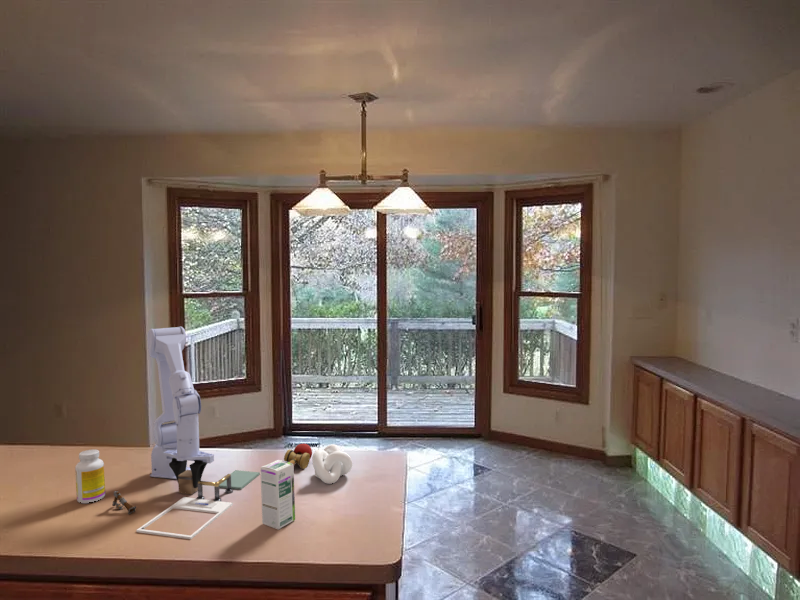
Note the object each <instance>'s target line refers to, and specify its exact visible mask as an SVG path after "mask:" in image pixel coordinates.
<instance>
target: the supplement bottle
mask: <svg viewBox="0 0 800 600" xmlns="http://www.w3.org/2000/svg"><path fill="white" fill-rule="evenodd" d="M78 459H79V462H77V464H76V465H75V467H74V468H75V484H76V485H75V489H76V501H77V502H78V503H80V502H81V503H80V504H90V503H89V502H93V503H95V502H94V501H96V502H98V500H99V501H100V499H101V500H102V499H103V498H105V496H106V483H105V482H106V480H105V463H104V461H103V459H101V458H100V450H98V449H87V450H82V451H81V452H79V454H78Z"/></svg>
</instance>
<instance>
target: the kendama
mask: <svg viewBox="0 0 800 600" xmlns="http://www.w3.org/2000/svg"><path fill="white" fill-rule="evenodd" d="M312 457H313V449H312V447H311V446H310V445H309V444H307V443H299V444H297V445H296V446H295V447H294V449H287V450H286V452H285V453H284V457H283V461H287V462H290V463H293V465H294V466H295V465H296V464H297V465H298V466H299V468H300V469H302V470H305V469H306V468H307V467H308V466H309V463H310V460H311V458H312Z"/></svg>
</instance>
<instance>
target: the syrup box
mask: <svg viewBox="0 0 800 600" xmlns="http://www.w3.org/2000/svg"><path fill="white" fill-rule="evenodd" d="M294 466H295V465H293V463H290V462H287V461H284V459H283V460H282V459H276V460H274V461H272V462H270V463H268V464H265V465H262V466H260V467H259V468H260V471H259V472H260V494H261V518H262V519H261V520H262V521H261V523H262V524H263V525H264V526H267V527H269V528H273V529H276V530H281V529H282V528H283V527H285V526H287V525H289V524H290V523H292V522H294V521H295V520H296V503H295V500H296V499H295V473H294V472H295V471H294V468H295V467H294Z"/></svg>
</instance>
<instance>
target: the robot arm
mask: <svg viewBox="0 0 800 600" xmlns="http://www.w3.org/2000/svg"><path fill="white" fill-rule="evenodd" d="M186 334H187V332H186V329H185V328H184V327H183V326H177V327H162V328H149V330H148V331H147V336H146V337H147V349H148V354H149V357H150V358H153V359H155V361H156V364H157V371H158V383H159V391H160V399H161V401H160V402H161V409H162V411H161V412H162V413H160V414H159V416H158V417H156V419H154V422H153V440H154V444H155V445H154V446H153V448H152V450H151V454H150V456H151V457H150V458H151V459H150V460H151V474H149V477H150V478H151V477H153V478H161V479H171V480H176V481H177V482H178V475H180V474H181V473H183V472H184V471H186V470H191V472H192V477H193V487H194V488H197V487H198V482H199V481H202V477H203V474H204V471H205V469H206V466H207V464H211V463H213V462H214V461H215V454H213V453H209V452H205V451H202V450H200V429H199V427H200V426H199V422H200V421H199V414H201V412H202V401H201V396H200V394H199V393H198V391H197V389H195V388H194V383H193V380H192V376H191V374H190V372H189V371H187V370H185V365H184V360H183V359H184V358H183V350H184V349H185V345H186V344H187V343H186V342H187V335H186ZM168 422H169V423H168ZM188 461H191V462H192V463H190V464H189V466H188Z"/></svg>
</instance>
